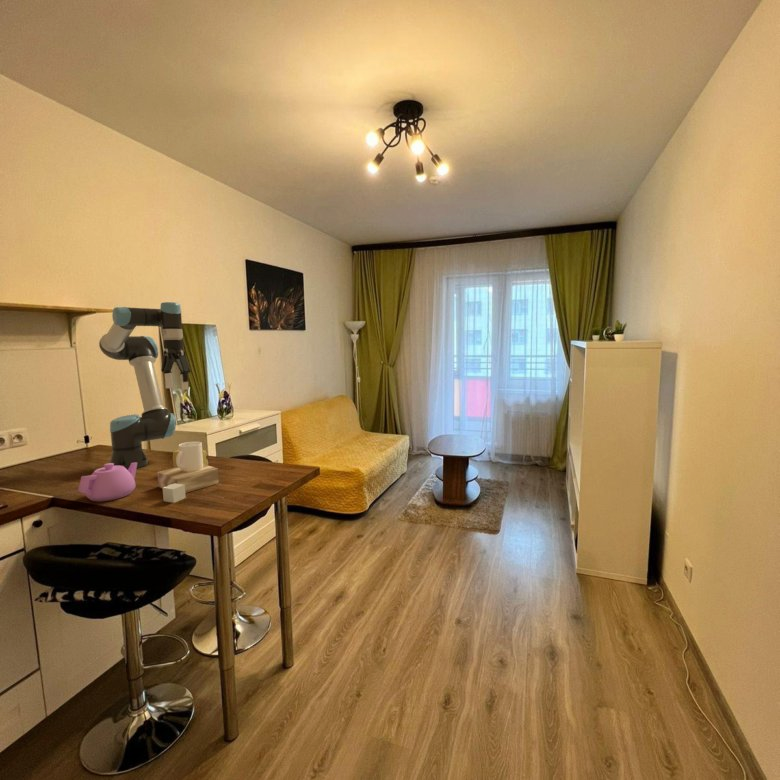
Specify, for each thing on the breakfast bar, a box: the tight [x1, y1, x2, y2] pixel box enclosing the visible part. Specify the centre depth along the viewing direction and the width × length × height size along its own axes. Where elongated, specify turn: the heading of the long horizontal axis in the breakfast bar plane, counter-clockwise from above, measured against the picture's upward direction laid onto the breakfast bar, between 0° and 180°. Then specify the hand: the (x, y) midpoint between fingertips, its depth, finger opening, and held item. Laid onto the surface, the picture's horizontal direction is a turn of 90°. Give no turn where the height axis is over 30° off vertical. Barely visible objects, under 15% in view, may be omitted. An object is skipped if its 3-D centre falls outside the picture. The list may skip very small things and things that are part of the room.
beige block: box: [162, 483, 187, 504], centre depth 147 cm, size 5×5×5 cm
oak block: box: [156, 464, 220, 494], centre depth 163 cm, size 16×16×6 cm
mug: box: [176, 441, 203, 472], centre depth 161 cm, size 12×8×10 cm
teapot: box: [77, 462, 138, 502], centre depth 153 cm, size 22×16×12 cm
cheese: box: [172, 448, 209, 468], centre depth 182 cm, size 10×11×10 cm
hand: (176, 388), depth 177 cm, fingers open, 13 cm apart
